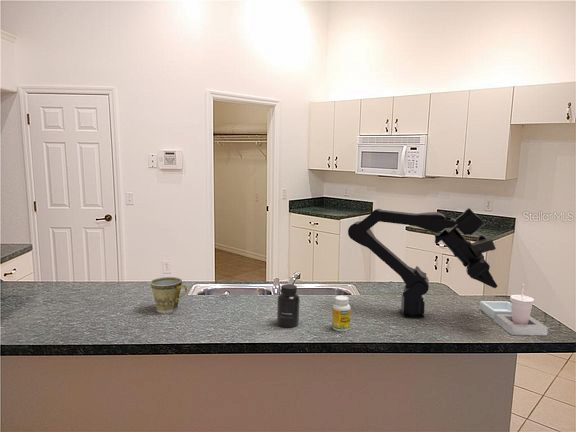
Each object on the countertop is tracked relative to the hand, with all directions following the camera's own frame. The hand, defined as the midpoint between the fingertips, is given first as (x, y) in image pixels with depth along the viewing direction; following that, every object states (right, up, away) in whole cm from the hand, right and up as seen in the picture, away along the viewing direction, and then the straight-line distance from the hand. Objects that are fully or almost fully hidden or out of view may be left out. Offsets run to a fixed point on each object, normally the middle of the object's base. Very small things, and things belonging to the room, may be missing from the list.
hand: (493, 283), depth 127 cm
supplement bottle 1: (-64, -13, 0) cm, 65 cm away
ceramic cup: (-103, -11, +10) cm, 104 cm away
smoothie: (+7, -14, -1) cm, 16 cm away
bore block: (+7, -14, -1) cm, 16 cm away
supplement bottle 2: (-48, -13, -3) cm, 50 cm away
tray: (+7, -12, +10) cm, 17 cm away
